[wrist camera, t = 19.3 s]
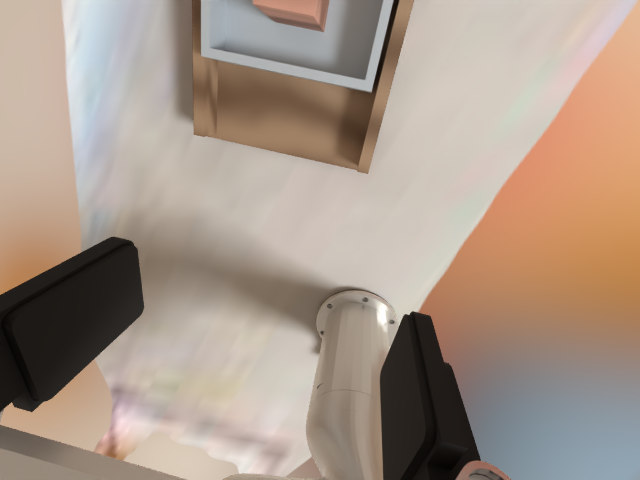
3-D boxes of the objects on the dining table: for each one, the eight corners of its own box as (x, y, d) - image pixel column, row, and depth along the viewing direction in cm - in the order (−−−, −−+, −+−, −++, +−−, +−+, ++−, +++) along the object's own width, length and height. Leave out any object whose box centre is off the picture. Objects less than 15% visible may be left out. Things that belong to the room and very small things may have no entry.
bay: (367, 170, 35) (366, 180, 31) (211, 135, 36) (188, 140, 32) (436, -93, 25) (450, -135, 20) (214, -131, 26) (182, -179, 21)
